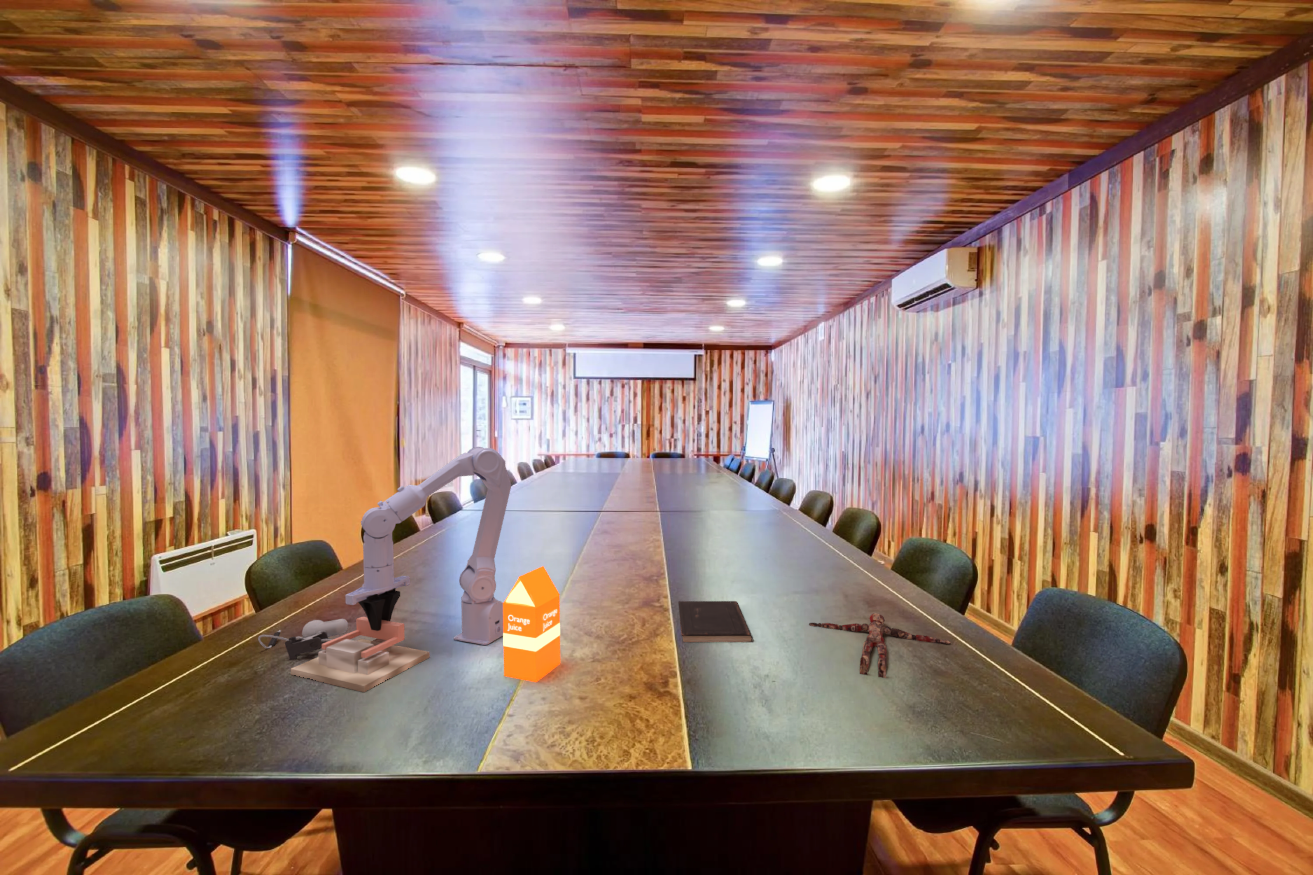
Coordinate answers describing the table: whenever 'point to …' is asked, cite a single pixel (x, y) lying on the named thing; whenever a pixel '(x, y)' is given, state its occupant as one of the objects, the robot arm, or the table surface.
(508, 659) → the orange juice
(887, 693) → the table surface
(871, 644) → the mannequin
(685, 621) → the hardcover book
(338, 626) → the clip-on lamp
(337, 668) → the architectural building model
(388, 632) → the u-shaped bracket
